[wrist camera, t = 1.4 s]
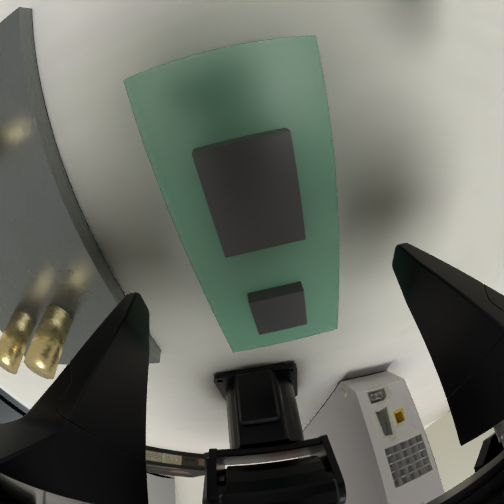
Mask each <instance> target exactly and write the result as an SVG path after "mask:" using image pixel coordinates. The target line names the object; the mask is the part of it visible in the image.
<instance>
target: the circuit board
mask: <svg viewBox="0 0 504 504" xmlns="http://www.w3.org/2000/svg"><path fill="white" fill-rule="evenodd" d="M124 83H125V87H126V90H127V93H128V97H129V100H130V103H131V106H132V110H133V113H134V116H135V119H136V122H137V125H138V128H139V131H140V134H141V137H142V140H143V143H144V146H145V149H146V151H147V154H148V157H149V160H150V163H151V165H152V168H153V171H154V174H155V176H156V179H157V182H158V184H159V187H160V190H161V192H162V195H163V197H164V200H165V202H166V205H167V208H168V210H169V213H170V215H171V218H172V220H173V222H174V225H175V227H176V230H177V232H178V235H179V237H180V239H181V242H182V244H183V246H184V249H185V251H186V253H187V256H188V258H189V260H190V263H191V265H192V267H193V269H194V272H195V274H196V276H197V278H198V281H199V283H200V285H201V287H202V289H203V291H204V294H205V296H206V298H207V300H208V302H209V304H210V306H211V309H212V311H213V313H214V315H215V317H216V319H217V321H218V323H219V325H220V327H221V329H222V331H223V333H224V335H225V337H226V339H227V341H228V343H229V345H230V347H231V349H232V351H233V352H239V351H244V350H249V349H254V348H259V347H264V346H269V345H274V344H278V343H283V342H287V341H291V340H296V339H300V338H304V337H308V336H312V335H316V334H320V333H323V332H327V331H331V330H334V329H337V325H338V300H339V230H338V205H337V188H336V174H335V162H334V151H333V142H332V133H331V125H330V117H329V109H328V102H327V96H326V89H325V83H324V77H323V72H322V66H321V61H320V56H319V51H318V46H317V41H316V37H315V35H314V36H298V37H286V38H277V39H269V40H262V41H255V42H249V43H243V44H238V45H233V46H228V47H224V48H219V49H215V50H211V51H207V52H203V53H199V54H195V55H192V56H188V57H185V58H182V59H178V60H175V61H172V62H169V63H166V64H163V65H160V66H158V67H155V68H152V69H149V70H147V71H144V72H142V73H139V74H137V75H134V76H132V77H129V78H127V79H125V80H124Z"/></svg>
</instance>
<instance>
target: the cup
mask: <svg viewBox="0 0 504 504" xmlns="http://www.w3.org/2000/svg"><path fill="white" fill-rule="evenodd" d="M204 477H205V475H204V476H198V477H193V478H190V477H180V476H175V493H176V494H175V495H176V504H202V497H203V487H204Z"/></svg>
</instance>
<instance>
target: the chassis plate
mask: <svg viewBox="0 0 504 504" xmlns="http://www.w3.org/2000/svg"><path fill="white" fill-rule="evenodd" d="M124 297H125V295H124V294H123V292H122V290H121V289H120V287H119V285H118V283H117V282H116V280H115V278H114V276H113V274H112V273H111V271H110V269H109V267H108V265H107V263H106V262H105V260H104V258H103V256H102V254H101V252H100V250H99V248H98V246H97V244H96V242H95V240H94V238H93V236H92V234H91V232H90V230H89V227H88V225H87V223H86V221H85V219H84V216H83V214H82V212H81V210H80V207H79V205H78V203H77V200H76V198H75V195H74V193H73V191H72V188H71V186H70V183H69V180H68V178H67V175H66V172H65V170H64V167H63V164H62V161H61V158H60V155H59V152H58V149H57V146H56V143H55V140H54V137H53V133H52V130H51V126H50V123H49V119H48V115H47V111H46V107H45V103H44V99H43V94H42V90H41V85H40V80H39V74H38V69H37V62H36V56H35V48H34V39H33V28H32V9H29V8H22V7H19V8H17V9H16V10H15V11H14V12H12V13H11V14H10V15H9V16H8V17H6V18H5V19H4V20H3V21H2V22H1V23H0V330H1V331H2V332H3V334H2V336H1V338H0V366H1V367H2V368H3V369H5V370H6V371H8V372H10V373H12V374H16V373H17V371H18V368H19V365H20V362H21V360H22V357H23V355H24V356H25V359H24V363H25V365H26V366H27V367H28V368H29V369H30V370H31V371H33V372H34V373H36V374H37V375H39V376H41V377H44V378H47V379H53V378H54V376H55V372H56V369H57V366H58V364H69V363H70V361H71V360H72V359H73V357H74V356H75V355H76V354H77V352H78V351H79V350H80V349H81V347H82V346H83V345H84V344H85V342H86V341H87V340H88V339H89V338H90V336H91V335H92V334H93V333H94V332H95V330H96V329H97V328H98V327H99V326H100V325H101V323H102V322H103V321H104V320H105V319H106V317H107V316H108V315H109V314H110V313H111V312H112V311H113V309H114V308H115V307H116V306H117V305H118V304H119V303H120V301H121V300H122V299H123V298H124ZM149 346H150V349H149V363H159V362H160V353H161V351H160V349H159V348H158V346H157V345H156V343H155V342H154V341H153V339H152V338H151V336H150V335H149Z"/></svg>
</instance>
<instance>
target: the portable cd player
mask: <svg viewBox="0 0 504 504" xmlns="http://www.w3.org/2000/svg"><path fill="white" fill-rule="evenodd" d="M146 472H151V473H157V474H164V475H171V476H180V477H190V478H193V477H198V476H204V475H205V460H204V454H194V453H186V452H178V451H172V450H166V449H160V448H154V447H149V446H146Z"/></svg>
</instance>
